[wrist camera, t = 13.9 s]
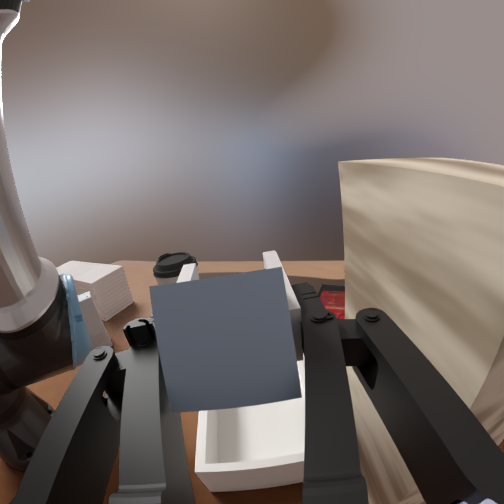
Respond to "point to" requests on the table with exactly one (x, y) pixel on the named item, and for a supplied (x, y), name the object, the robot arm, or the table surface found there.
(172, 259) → the coffee cup
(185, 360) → the block
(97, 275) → the stack of papers
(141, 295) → the table surface
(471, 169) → the beige tall box
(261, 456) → the tray
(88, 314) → the skincare box
